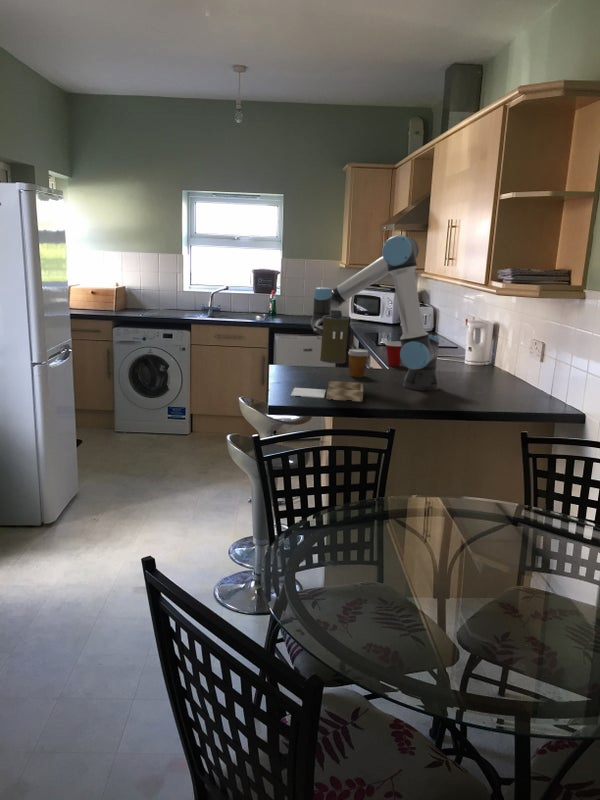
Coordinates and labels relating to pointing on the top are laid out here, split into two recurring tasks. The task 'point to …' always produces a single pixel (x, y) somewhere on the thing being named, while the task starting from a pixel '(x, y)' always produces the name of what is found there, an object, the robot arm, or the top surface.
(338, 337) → the canister
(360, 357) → the disposable coffee cup
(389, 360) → the plastic cup
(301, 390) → the mat
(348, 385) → the tan low open frame
